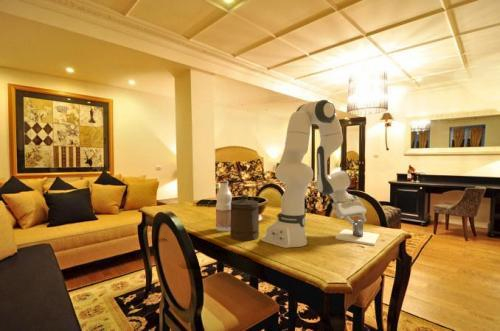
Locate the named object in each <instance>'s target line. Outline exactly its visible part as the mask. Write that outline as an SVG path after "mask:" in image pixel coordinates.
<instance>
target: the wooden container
mask: <svg viewBox="0 0 500 331" xmlns="http://www.w3.org/2000/svg"><path fill="white" fill-rule="evenodd" d="M248 198H249V196H248V195H247V194H242V195H241V199H238V200H231V218H230V232H229V233H230V238H231V239H233V240H235V241H242V242H243V241H246V242H247V241H254V240H256V239H258V238H259V237H260V236H259V234H260V233H259V232H260V231H259V230H260V222H259V201H257V200H253V199H248Z"/></svg>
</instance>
